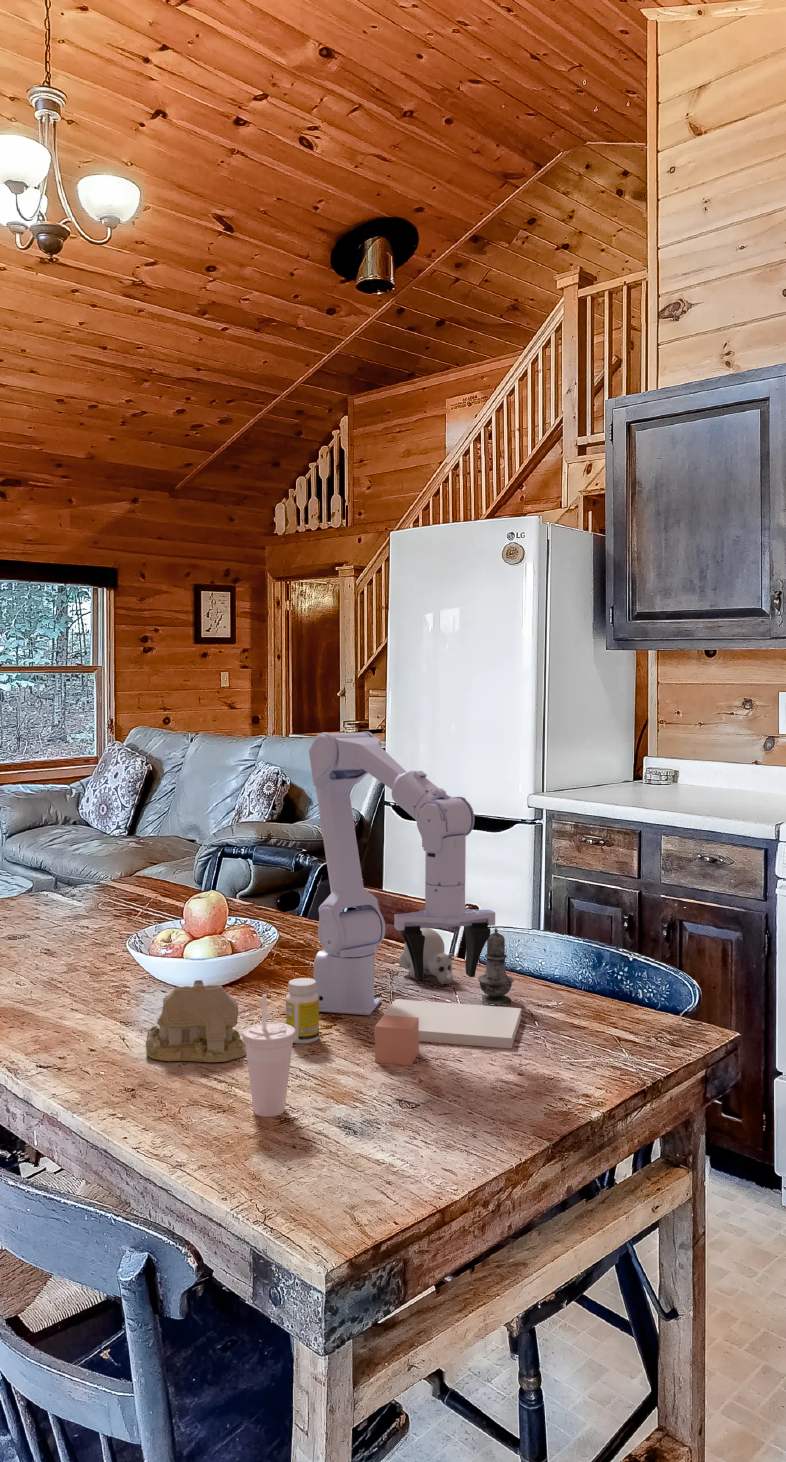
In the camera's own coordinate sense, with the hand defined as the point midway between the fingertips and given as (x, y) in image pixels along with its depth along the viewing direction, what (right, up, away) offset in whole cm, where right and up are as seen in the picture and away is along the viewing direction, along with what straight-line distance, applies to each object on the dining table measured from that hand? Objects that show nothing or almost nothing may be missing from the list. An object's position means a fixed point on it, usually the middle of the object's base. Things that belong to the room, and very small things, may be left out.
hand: (444, 977), depth 143 cm
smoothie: (-22, -11, -23) cm, 34 cm away
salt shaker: (+9, -9, +21) cm, 25 cm away
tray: (+1, -9, +7) cm, 12 cm away
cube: (-7, -10, -5) cm, 13 cm away
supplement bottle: (-21, -10, +2) cm, 23 cm away
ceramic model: (-35, -10, -3) cm, 36 cm away
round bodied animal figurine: (-1, -9, +34) cm, 35 cm away
